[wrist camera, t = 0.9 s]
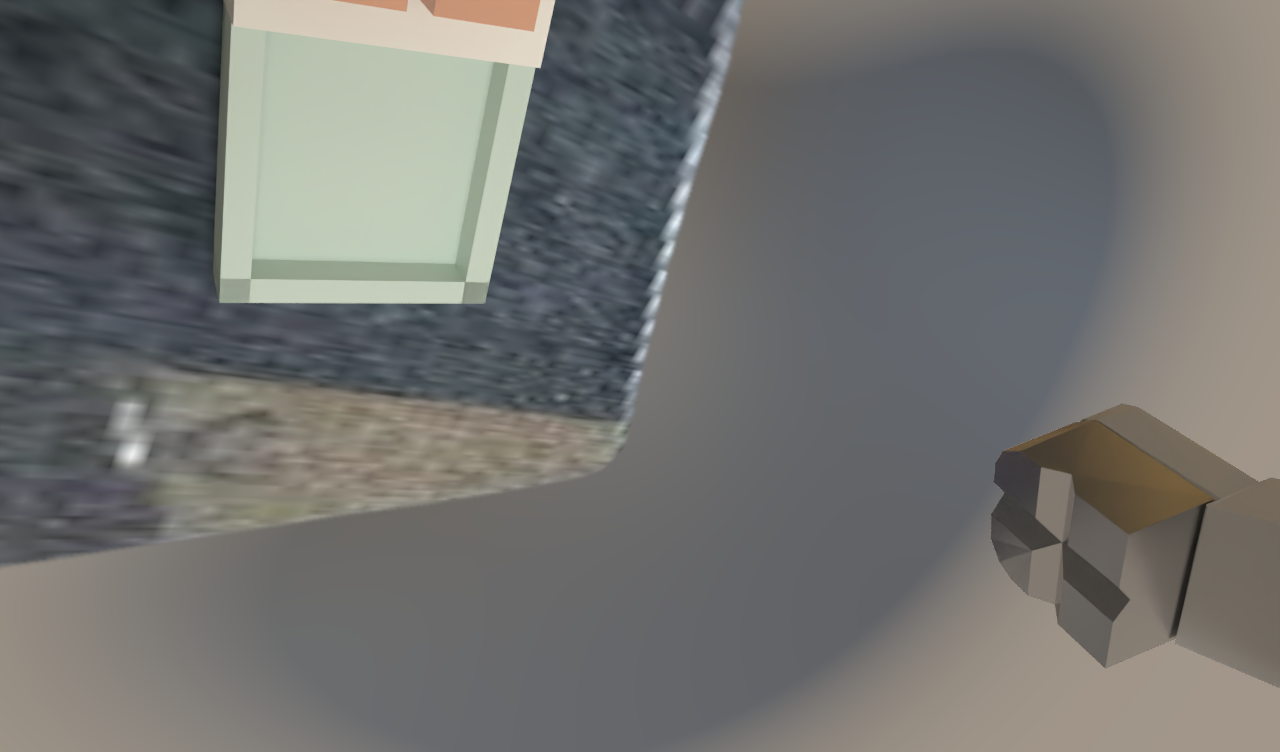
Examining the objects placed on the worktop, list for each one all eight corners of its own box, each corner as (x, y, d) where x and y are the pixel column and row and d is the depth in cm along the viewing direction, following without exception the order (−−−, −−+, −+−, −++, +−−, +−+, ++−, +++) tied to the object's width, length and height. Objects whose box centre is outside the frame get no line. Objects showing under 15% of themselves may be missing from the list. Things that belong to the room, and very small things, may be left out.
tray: (223, -1, 36) (231, 21, 35) (516, 43, 42) (536, 63, 41) (212, 272, 43) (219, 302, 41) (469, 277, 49) (484, 303, 47)
